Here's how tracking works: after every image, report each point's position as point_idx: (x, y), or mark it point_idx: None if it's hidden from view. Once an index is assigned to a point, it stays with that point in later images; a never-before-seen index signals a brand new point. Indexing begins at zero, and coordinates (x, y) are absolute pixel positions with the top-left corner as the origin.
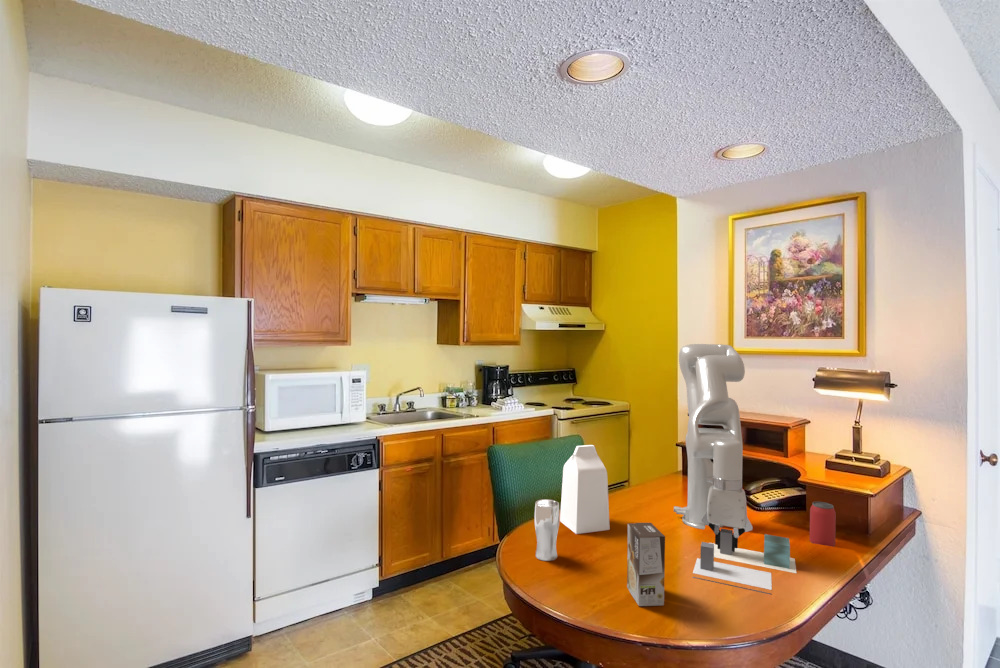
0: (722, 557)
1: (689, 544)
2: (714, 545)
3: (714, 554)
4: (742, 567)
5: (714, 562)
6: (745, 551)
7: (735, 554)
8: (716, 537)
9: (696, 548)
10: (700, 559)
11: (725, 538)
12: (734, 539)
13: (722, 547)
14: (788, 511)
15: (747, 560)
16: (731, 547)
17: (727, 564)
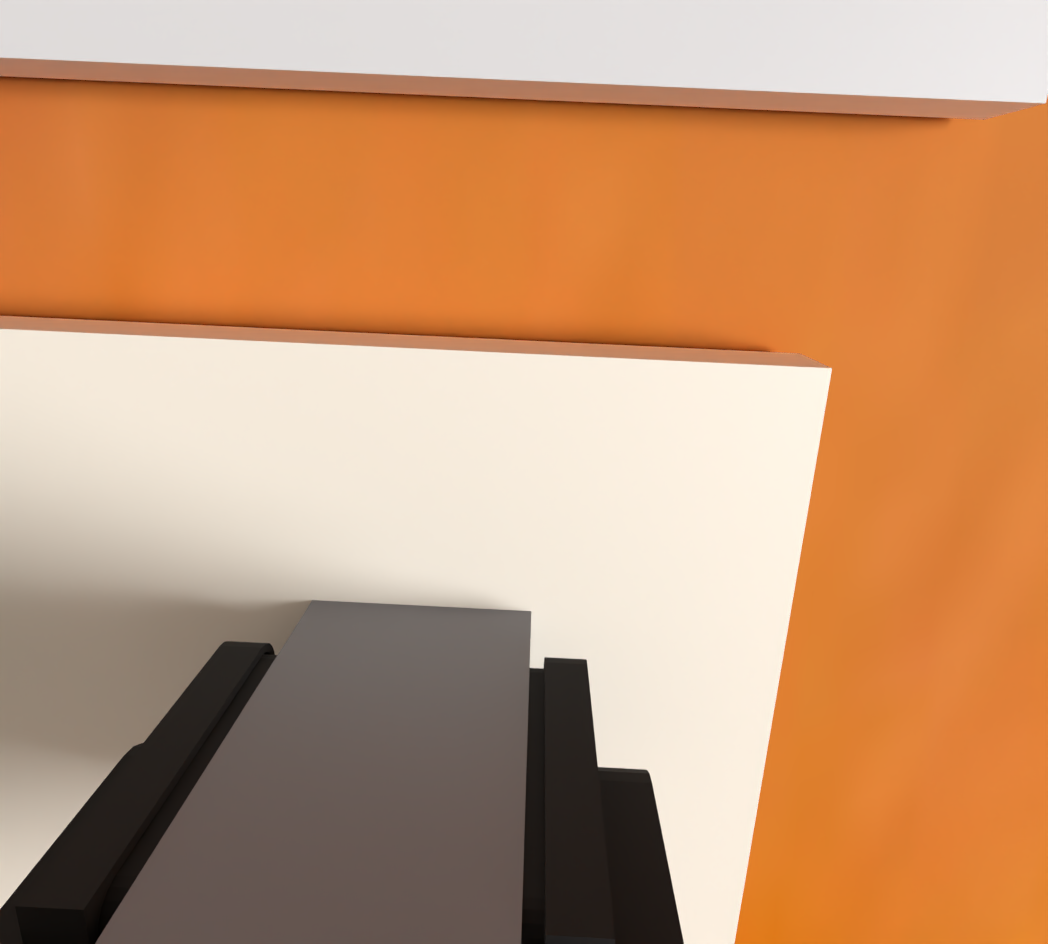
0: (476, 416)
1: (1007, 904)
2: None
3: (638, 502)
4: (20, 40)
5: (643, 18)
6: None
7: None
8: (638, 903)
9: (907, 805)
10: (970, 54)
11: (355, 865)
12: (53, 863)
13: (475, 683)
14: None
15: (7, 495)
16: (259, 694)
17: (347, 47)
